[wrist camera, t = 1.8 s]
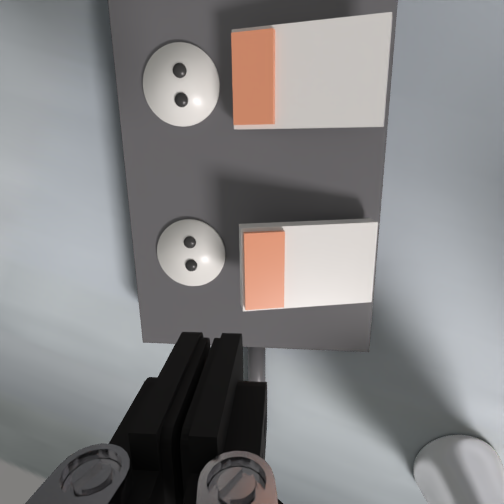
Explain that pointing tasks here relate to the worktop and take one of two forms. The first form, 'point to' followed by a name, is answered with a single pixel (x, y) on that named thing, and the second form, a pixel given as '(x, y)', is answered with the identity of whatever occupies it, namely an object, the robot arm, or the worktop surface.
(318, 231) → the outlet rocker
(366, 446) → the worktop surface
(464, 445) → the beer glass
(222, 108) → the power strip
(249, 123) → the outlet rocker
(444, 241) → the worktop surface
